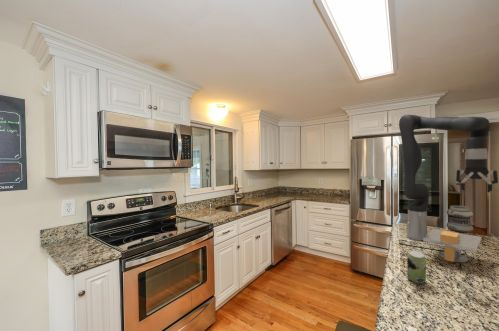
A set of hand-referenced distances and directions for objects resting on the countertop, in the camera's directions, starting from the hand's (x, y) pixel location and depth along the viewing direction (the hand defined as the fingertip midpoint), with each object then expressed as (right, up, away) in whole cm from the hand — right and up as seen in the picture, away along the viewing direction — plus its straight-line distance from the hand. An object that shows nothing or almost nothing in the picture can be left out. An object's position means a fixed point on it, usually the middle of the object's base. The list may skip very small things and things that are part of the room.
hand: (476, 191), depth 110 cm
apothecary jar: (+18, -31, +28) cm, 45 cm away
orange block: (-18, -31, -6) cm, 36 cm away
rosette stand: (-14, -33, -2) cm, 36 cm away
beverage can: (-43, -35, -19) cm, 58 cm away
